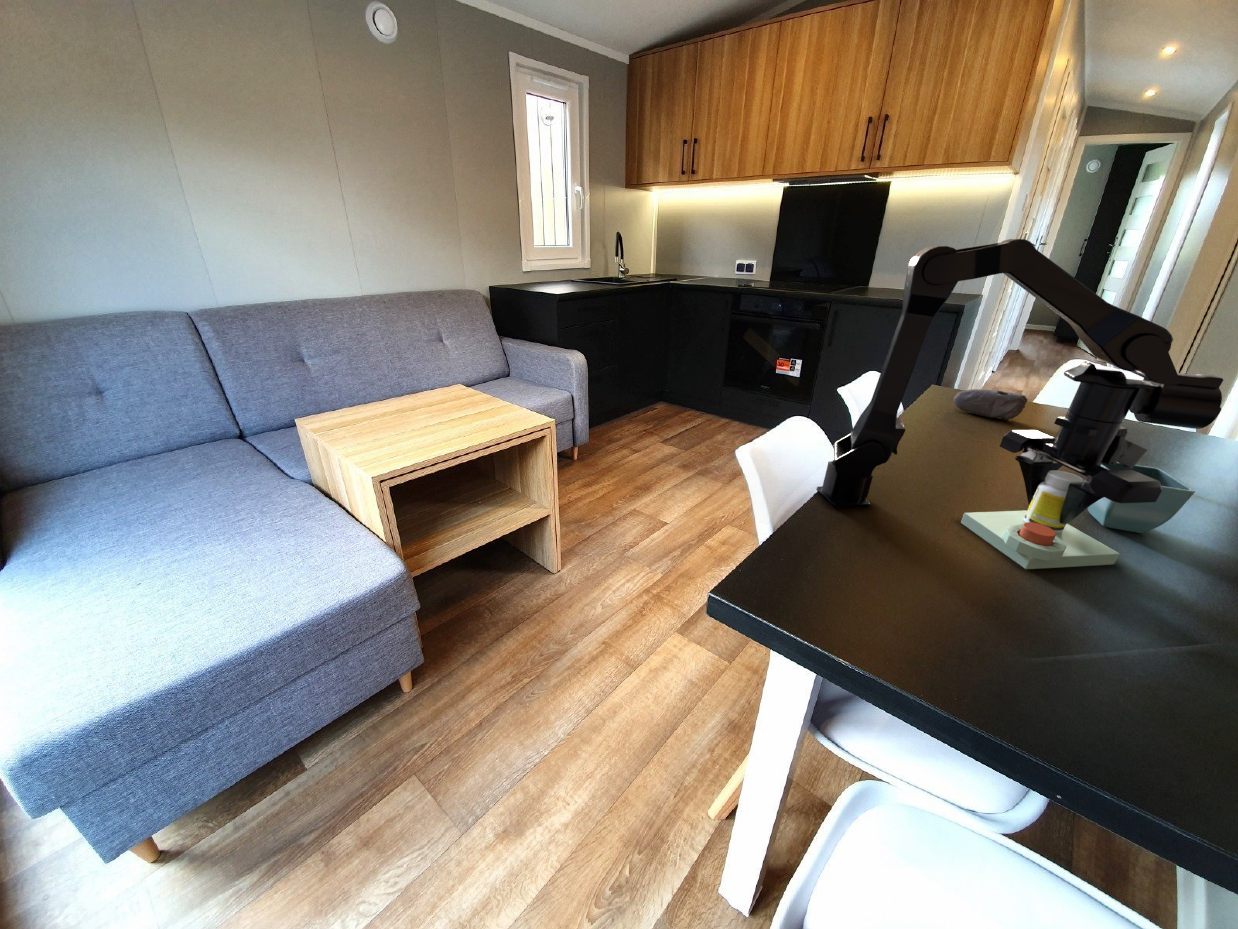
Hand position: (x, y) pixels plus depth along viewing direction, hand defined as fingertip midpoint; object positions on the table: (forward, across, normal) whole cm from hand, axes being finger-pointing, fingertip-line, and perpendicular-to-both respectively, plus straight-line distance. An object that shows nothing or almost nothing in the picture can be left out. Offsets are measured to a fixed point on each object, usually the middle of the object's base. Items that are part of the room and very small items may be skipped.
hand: (1047, 514), depth 73 cm
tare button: (+1, -5, +7) cm, 9 cm away
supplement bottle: (+2, 0, 0) cm, 2 cm away
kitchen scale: (+4, -2, +2) cm, 5 cm away
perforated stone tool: (+4, +54, -38) cm, 66 cm away
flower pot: (+4, +2, -17) cm, 17 cm away
